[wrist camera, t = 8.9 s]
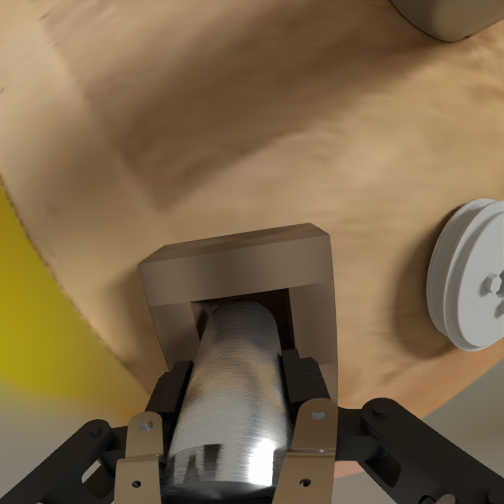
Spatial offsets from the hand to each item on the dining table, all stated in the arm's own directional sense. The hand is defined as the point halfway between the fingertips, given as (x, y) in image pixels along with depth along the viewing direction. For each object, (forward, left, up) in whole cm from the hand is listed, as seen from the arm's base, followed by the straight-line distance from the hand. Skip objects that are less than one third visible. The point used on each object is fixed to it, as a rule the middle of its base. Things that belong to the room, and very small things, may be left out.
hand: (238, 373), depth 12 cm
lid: (-20, +1, -9) cm, 22 cm away
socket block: (0, +3, -8) cm, 9 cm away
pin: (0, 0, -4) cm, 4 cm away
